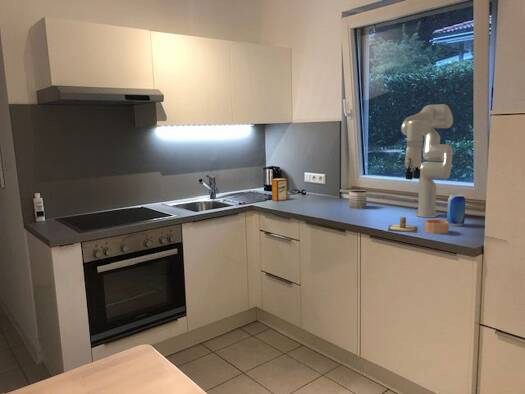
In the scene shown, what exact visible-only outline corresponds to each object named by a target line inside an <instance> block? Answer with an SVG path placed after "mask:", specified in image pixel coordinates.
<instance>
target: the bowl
mask: <svg viewBox="0 0 525 394" xmlns="http://www.w3.org/2000/svg"><path fill="white" fill-rule="evenodd" d="M449 229H450V225H449V222H448V221H447V220H445V219H435V218H432V219H426V220H424V232H426V233H429V234H433V235H434V234H435V235H436V234H437V235H445V234H448V233H449V232H450V231H449Z"/></svg>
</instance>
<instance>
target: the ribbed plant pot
mask: <svg viewBox="0 0 525 394" xmlns="http://www.w3.org/2000/svg"><path fill="white" fill-rule="evenodd" d="M367 191H368V190H366V189H351V190H349V192H348V193H349V195H348V198H349V199H348V203H349V204H348V205H349V206H348V209H350V210H364V209H367V196H368V195H367Z"/></svg>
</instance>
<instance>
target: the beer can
mask: <svg viewBox="0 0 525 394" xmlns="http://www.w3.org/2000/svg"><path fill="white" fill-rule="evenodd" d="M446 211H447V212H446V213H447V215H446V221H448V222H449V227H450V226H451V227H462V226H463V225H465V218H466V217H465V216H466V213H465V212H466V198H465V195H464V194H458V193H452V194H450V195H449V197H448V198H447V210H446Z"/></svg>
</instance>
